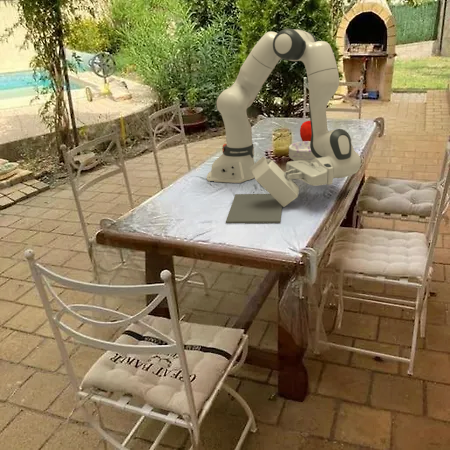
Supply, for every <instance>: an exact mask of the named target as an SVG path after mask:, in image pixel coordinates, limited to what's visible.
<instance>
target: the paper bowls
mask: <svg viewBox="0 0 450 450" xmlns="http://www.w3.org/2000/svg"><path fill="white" fill-rule="evenodd" d="M310 142H311V141H296V142H293V143H291V144H290V145H289V146H288V157H289V159H291V160H292V161H298V160H304V161H306V162H308V163H311V161H312V160H313V159H315V158H317V157H315V156H314V155H313V153H312V152H311V148H310Z"/></svg>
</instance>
